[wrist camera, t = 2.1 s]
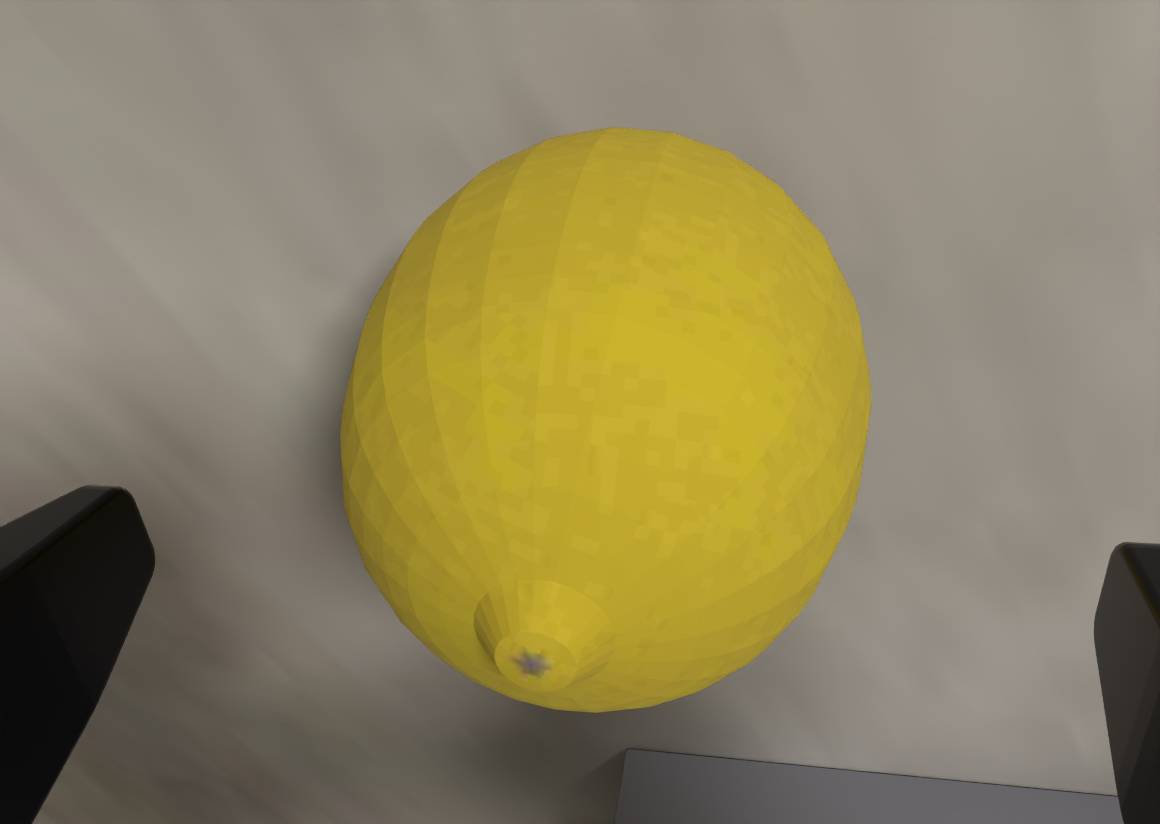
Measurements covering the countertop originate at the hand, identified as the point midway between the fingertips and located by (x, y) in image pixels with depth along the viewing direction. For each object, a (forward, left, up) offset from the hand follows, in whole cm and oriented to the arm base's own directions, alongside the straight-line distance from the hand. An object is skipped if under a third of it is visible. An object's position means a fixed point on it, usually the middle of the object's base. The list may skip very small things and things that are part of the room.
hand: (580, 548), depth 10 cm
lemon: (0, 0, -7) cm, 7 cm away
